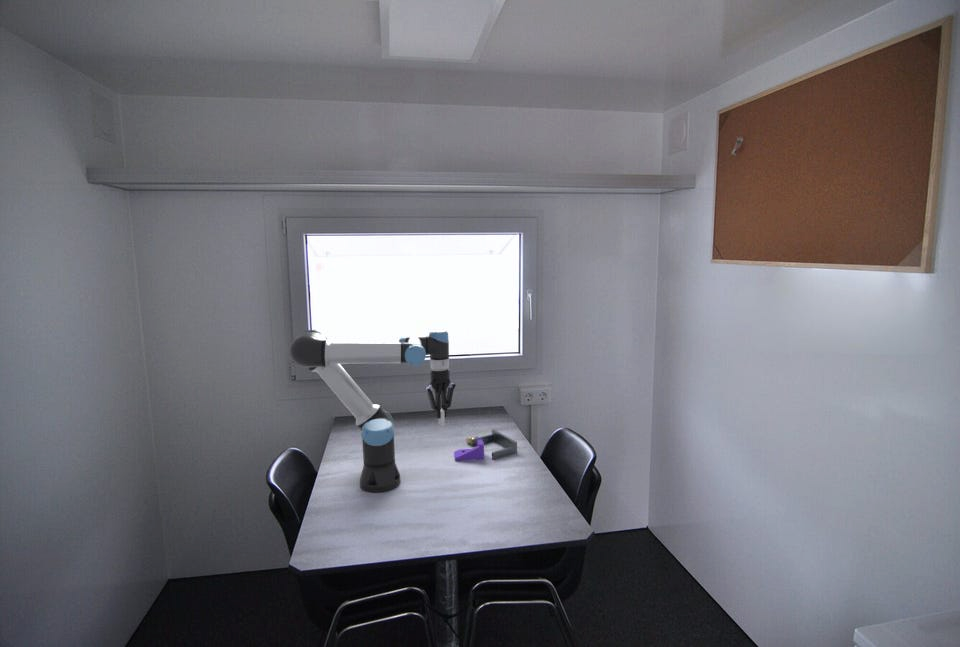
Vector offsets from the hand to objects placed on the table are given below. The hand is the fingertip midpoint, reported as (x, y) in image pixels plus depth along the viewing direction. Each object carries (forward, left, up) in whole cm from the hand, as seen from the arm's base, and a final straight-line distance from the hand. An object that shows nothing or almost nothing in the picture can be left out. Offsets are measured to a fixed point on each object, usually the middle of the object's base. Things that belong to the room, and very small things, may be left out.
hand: (441, 425), depth 208 cm
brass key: (+22, +12, -16) cm, 30 cm away
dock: (+24, 0, -16) cm, 29 cm away
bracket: (+12, -1, -17) cm, 21 cm away
